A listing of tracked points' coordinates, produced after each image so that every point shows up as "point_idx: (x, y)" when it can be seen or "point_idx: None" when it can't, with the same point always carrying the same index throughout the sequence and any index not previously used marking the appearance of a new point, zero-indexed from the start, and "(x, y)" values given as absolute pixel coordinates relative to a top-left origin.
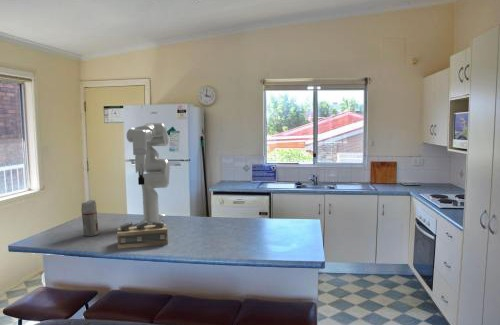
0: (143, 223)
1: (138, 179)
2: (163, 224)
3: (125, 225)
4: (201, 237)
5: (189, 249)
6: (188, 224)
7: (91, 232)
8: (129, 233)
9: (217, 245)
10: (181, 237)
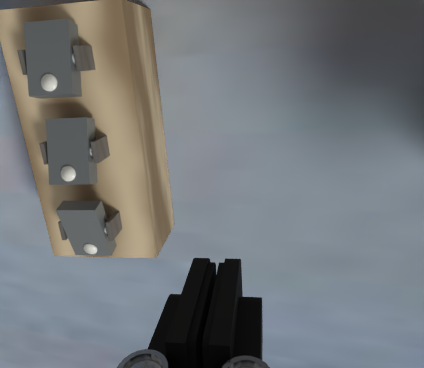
0: (52, 161)
1: (175, 317)
2: (76, 251)
3: (30, 55)
4: (151, 337)
5: (22, 282)
6: (368, 330)
7: None
8: (13, 80)
9: (56, 358)
10: (166, 277)
